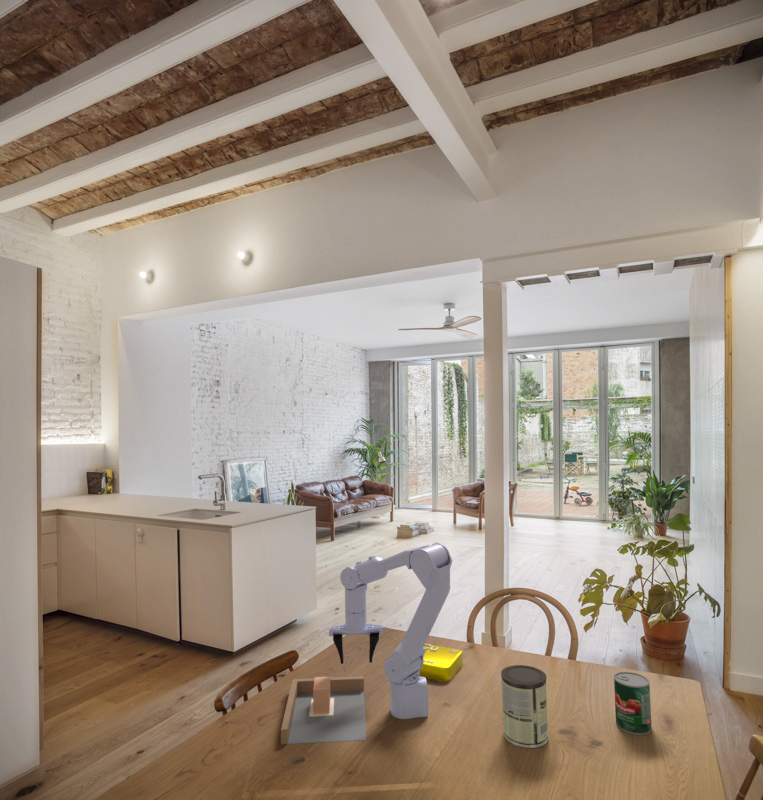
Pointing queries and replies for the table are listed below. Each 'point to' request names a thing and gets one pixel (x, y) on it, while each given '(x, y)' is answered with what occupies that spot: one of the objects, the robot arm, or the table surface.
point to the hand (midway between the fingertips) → (356, 661)
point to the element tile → (441, 662)
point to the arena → (332, 727)
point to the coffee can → (524, 706)
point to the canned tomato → (632, 703)
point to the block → (321, 695)
